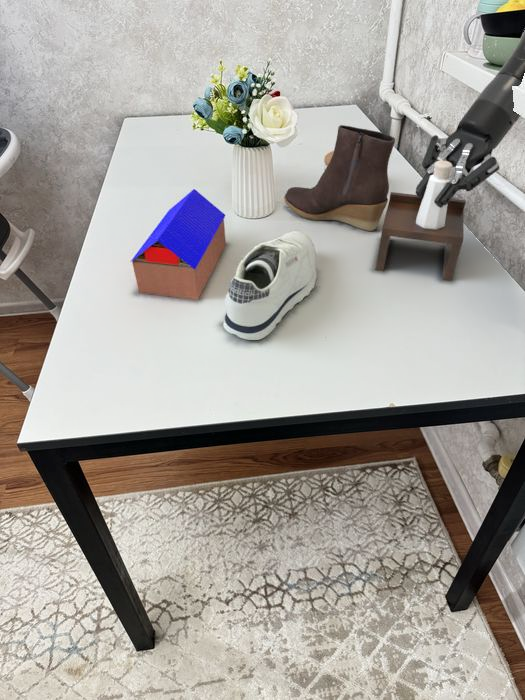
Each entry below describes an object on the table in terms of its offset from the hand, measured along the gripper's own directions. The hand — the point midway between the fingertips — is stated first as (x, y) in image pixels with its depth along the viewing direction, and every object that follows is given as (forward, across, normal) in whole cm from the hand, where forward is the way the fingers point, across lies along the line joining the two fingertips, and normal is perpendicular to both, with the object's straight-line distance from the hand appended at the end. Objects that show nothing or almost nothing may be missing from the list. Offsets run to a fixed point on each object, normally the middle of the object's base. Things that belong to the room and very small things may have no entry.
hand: (428, 199), depth 85 cm
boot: (+10, -25, +10) cm, 29 cm away
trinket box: (+2, -35, +18) cm, 39 cm away
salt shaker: (+2, 0, +5) cm, 6 cm away
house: (+36, -25, -16) cm, 47 cm away
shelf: (+8, -2, +12) cm, 14 cm away
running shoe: (+29, -8, -9) cm, 31 cm away
